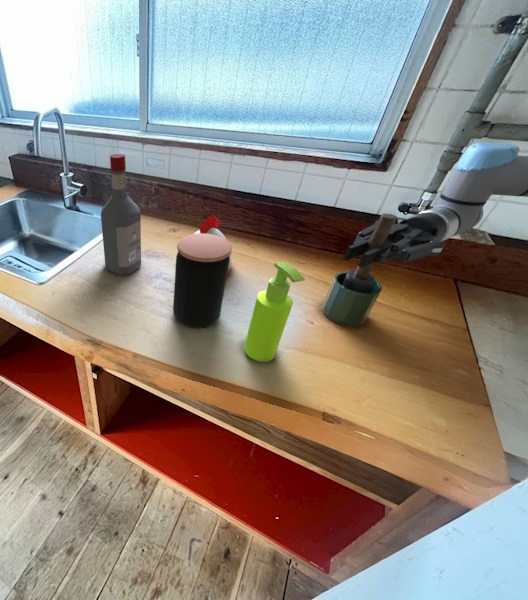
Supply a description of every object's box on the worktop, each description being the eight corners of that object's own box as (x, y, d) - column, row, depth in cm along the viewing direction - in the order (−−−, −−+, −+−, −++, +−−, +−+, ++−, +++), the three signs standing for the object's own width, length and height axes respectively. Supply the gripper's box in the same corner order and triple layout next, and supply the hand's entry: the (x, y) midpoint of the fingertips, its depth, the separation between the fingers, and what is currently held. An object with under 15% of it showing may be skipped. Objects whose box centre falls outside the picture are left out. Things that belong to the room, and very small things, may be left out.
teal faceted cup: (373, 318, 71) (391, 286, 66) (348, 331, 68) (364, 299, 63) (337, 298, 77) (351, 268, 72) (313, 309, 74) (325, 278, 69)
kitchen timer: (170, 266, 92) (172, 216, 83) (200, 250, 99) (205, 202, 90) (210, 286, 83) (218, 233, 74) (239, 266, 90) (250, 215, 81)
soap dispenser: (256, 368, 61) (284, 281, 49) (238, 343, 66) (259, 259, 54) (284, 362, 62) (317, 275, 50) (264, 338, 67) (289, 254, 55)
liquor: (145, 264, 93) (145, 154, 75) (124, 278, 88) (118, 162, 70) (122, 255, 98) (116, 149, 80) (101, 267, 93) (89, 157, 75)
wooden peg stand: (369, 297, 69) (411, 217, 58) (355, 304, 67) (395, 223, 56) (348, 286, 72) (383, 209, 61) (334, 292, 71) (368, 214, 60)
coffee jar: (228, 312, 74) (242, 242, 64) (203, 337, 68) (213, 264, 57) (189, 295, 80) (196, 228, 69) (163, 316, 74) (166, 246, 63)
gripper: (457, 260, 66) (387, 293, 58) (380, 232, 77) (313, 257, 69) (480, 225, 61) (408, 257, 53) (395, 201, 72) (325, 224, 64)
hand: (354, 257), depth 61 cm, fingers closed on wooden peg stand, 2 cm apart
